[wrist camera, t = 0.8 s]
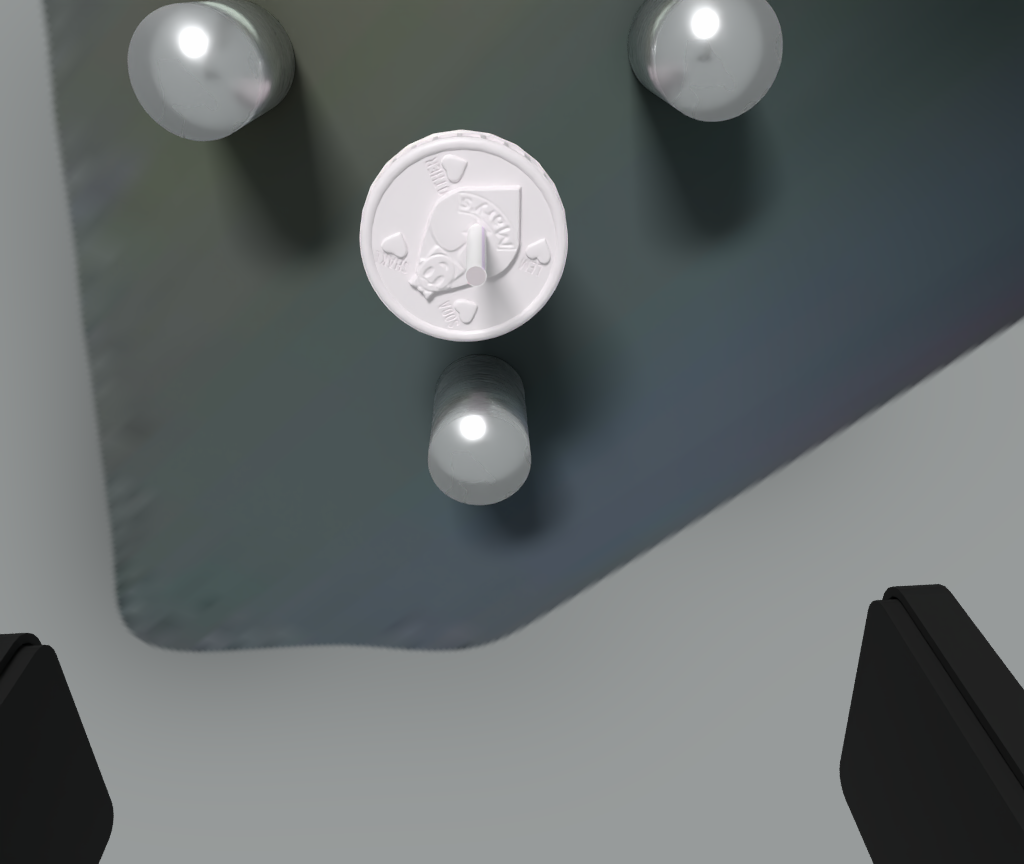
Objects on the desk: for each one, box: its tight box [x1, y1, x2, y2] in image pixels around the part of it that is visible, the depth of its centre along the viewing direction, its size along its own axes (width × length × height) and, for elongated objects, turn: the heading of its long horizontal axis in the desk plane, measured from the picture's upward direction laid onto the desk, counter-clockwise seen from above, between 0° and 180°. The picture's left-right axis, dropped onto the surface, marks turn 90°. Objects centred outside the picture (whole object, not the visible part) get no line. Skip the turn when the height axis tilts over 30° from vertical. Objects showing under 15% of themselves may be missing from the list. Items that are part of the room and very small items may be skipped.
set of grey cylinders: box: [128, 0, 783, 505], centre depth 33 cm, size 18×20×6 cm
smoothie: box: [360, 130, 568, 342], centre depth 29 cm, size 6×6×14 cm
